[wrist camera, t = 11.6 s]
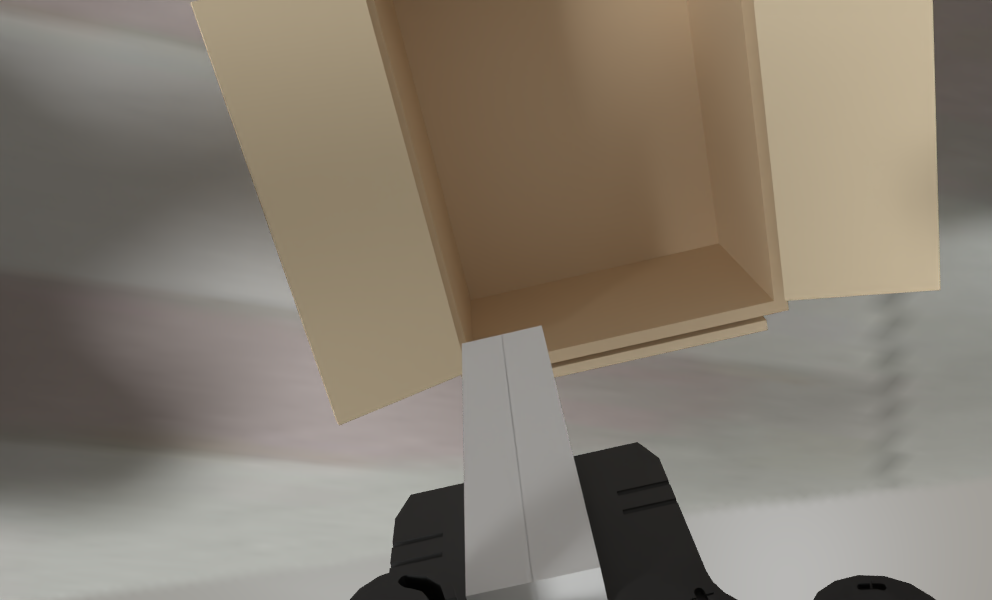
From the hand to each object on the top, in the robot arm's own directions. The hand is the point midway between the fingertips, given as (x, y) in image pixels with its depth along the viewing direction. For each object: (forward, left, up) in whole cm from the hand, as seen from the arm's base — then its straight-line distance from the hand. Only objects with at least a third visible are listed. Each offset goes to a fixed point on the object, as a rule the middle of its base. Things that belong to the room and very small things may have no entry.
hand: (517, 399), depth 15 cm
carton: (+4, 0, -29) cm, 29 cm away
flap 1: (-3, 0, -19) cm, 20 cm away
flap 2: (+11, 0, -19) cm, 22 cm away
